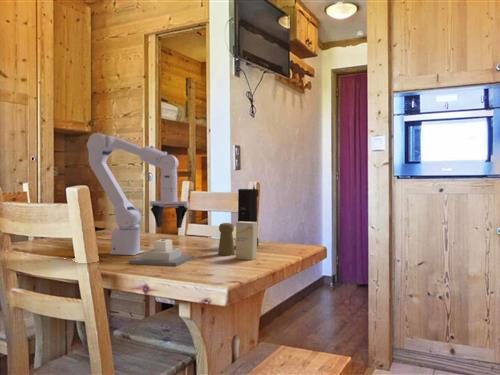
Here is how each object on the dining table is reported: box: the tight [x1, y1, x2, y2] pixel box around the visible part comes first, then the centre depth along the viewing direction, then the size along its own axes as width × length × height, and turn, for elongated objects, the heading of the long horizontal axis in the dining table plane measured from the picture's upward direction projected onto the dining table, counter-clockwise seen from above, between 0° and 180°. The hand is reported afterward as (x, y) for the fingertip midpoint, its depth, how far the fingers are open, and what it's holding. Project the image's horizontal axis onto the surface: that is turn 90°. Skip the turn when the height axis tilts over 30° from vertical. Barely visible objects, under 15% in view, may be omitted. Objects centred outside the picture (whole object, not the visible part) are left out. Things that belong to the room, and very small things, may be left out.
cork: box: [217, 222, 236, 257], centre depth 151 cm, size 6×6×11 cm
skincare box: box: [235, 221, 258, 261], centre depth 142 cm, size 6×4×12 cm
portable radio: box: [237, 186, 259, 248], centre depth 168 cm, size 8×6×25 cm
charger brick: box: [153, 238, 173, 252], centre depth 139 cm, size 4×5×6 cm
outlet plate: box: [128, 247, 195, 267], centre depth 138 cm, size 16×14×4 cm
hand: (169, 227), depth 152 cm, fingers open, 7 cm apart
